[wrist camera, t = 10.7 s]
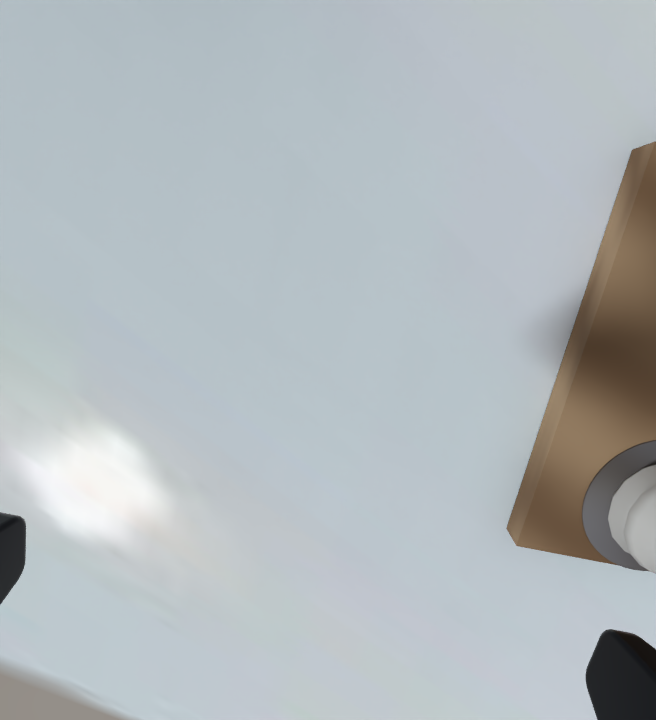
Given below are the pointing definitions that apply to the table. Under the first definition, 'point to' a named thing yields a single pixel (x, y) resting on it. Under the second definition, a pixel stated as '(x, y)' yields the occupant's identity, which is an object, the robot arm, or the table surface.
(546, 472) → the board
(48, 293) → the table surface
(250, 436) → the table surface
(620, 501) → the rook chess piece
